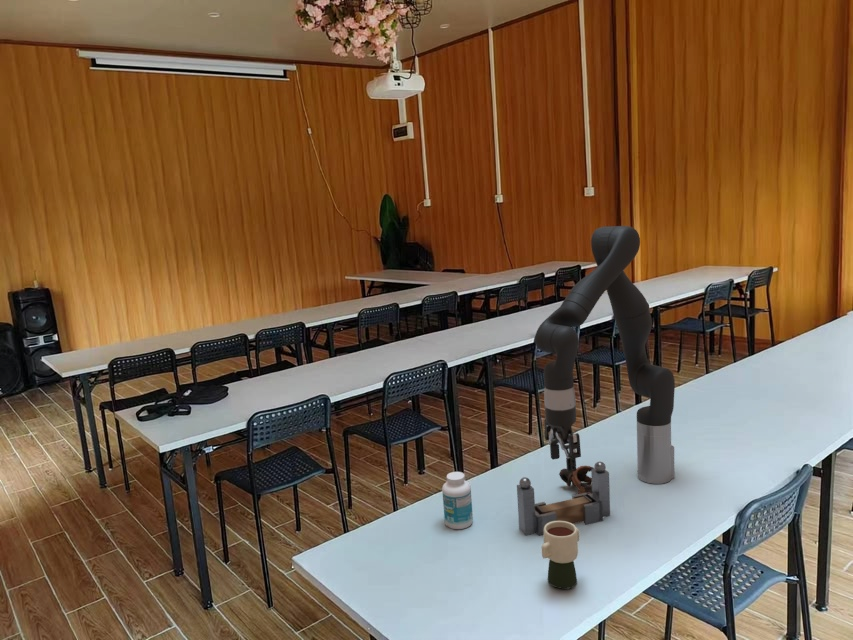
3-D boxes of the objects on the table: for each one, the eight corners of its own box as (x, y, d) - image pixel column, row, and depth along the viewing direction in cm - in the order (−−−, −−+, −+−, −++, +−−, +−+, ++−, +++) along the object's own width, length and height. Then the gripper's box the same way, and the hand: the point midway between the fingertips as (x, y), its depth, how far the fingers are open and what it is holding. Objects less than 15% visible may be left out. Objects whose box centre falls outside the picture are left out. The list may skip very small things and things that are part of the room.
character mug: (567, 566, 150) (565, 514, 147) (592, 580, 144) (590, 525, 141) (532, 585, 144) (529, 531, 141) (556, 600, 138) (554, 544, 135)
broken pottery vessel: (601, 484, 189) (606, 467, 183) (595, 511, 182) (600, 494, 177) (560, 471, 192) (564, 454, 187) (552, 497, 186) (556, 480, 180)
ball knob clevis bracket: (599, 506, 175) (598, 456, 172) (613, 518, 169) (612, 465, 166) (516, 526, 169) (513, 473, 166) (527, 538, 163) (524, 484, 160)
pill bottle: (440, 520, 175) (436, 473, 172) (466, 513, 177) (462, 466, 175) (451, 533, 168) (447, 484, 165) (477, 526, 170) (474, 477, 168)
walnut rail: (585, 513, 172) (585, 495, 171) (592, 519, 169) (592, 500, 168) (537, 524, 169) (536, 506, 168) (543, 531, 165) (542, 512, 164)
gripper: (588, 409, 157) (591, 472, 160) (559, 393, 170) (563, 451, 173) (560, 415, 155) (563, 479, 158) (533, 398, 168) (537, 457, 171)
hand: (563, 464), depth 166 cm, fingers open, 8 cm apart
